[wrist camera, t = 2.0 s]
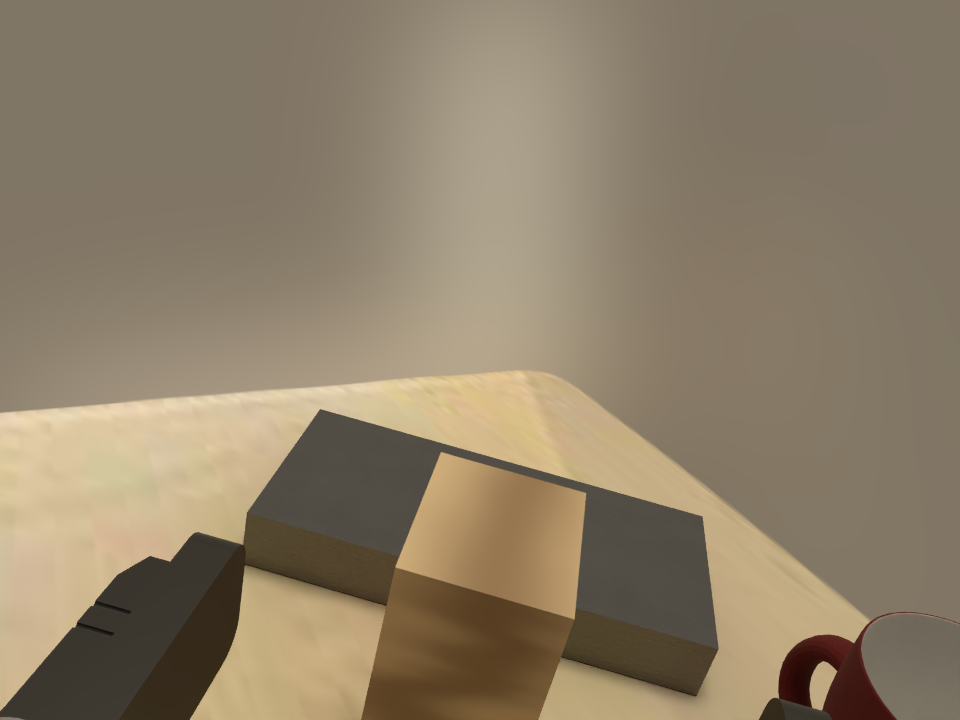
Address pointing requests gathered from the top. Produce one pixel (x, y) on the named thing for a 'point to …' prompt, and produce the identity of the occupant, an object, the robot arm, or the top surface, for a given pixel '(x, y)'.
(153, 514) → the top surface
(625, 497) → the dark grey slab
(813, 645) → the mug
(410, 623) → the tan wooden tall block
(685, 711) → the top surface
